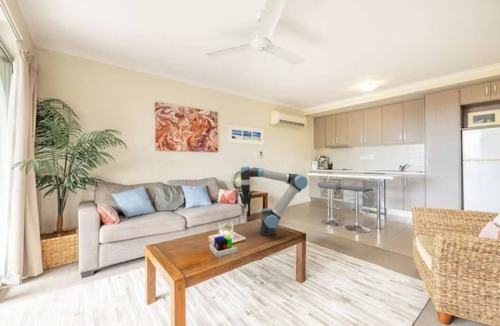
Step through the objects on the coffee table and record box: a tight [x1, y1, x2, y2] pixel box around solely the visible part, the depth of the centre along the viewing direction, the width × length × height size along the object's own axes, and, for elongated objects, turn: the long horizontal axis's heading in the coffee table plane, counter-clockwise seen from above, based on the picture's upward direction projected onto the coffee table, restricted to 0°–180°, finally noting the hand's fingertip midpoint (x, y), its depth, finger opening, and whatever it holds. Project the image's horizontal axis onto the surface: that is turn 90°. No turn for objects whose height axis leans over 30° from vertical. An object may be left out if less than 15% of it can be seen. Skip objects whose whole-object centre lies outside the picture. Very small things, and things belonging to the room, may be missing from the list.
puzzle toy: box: [213, 234, 233, 251], centre depth 165 cm, size 10×10×10 cm
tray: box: [208, 243, 238, 258], centre depth 166 cm, size 16×16×4 cm
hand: (246, 211), depth 187 cm, fingers closed
